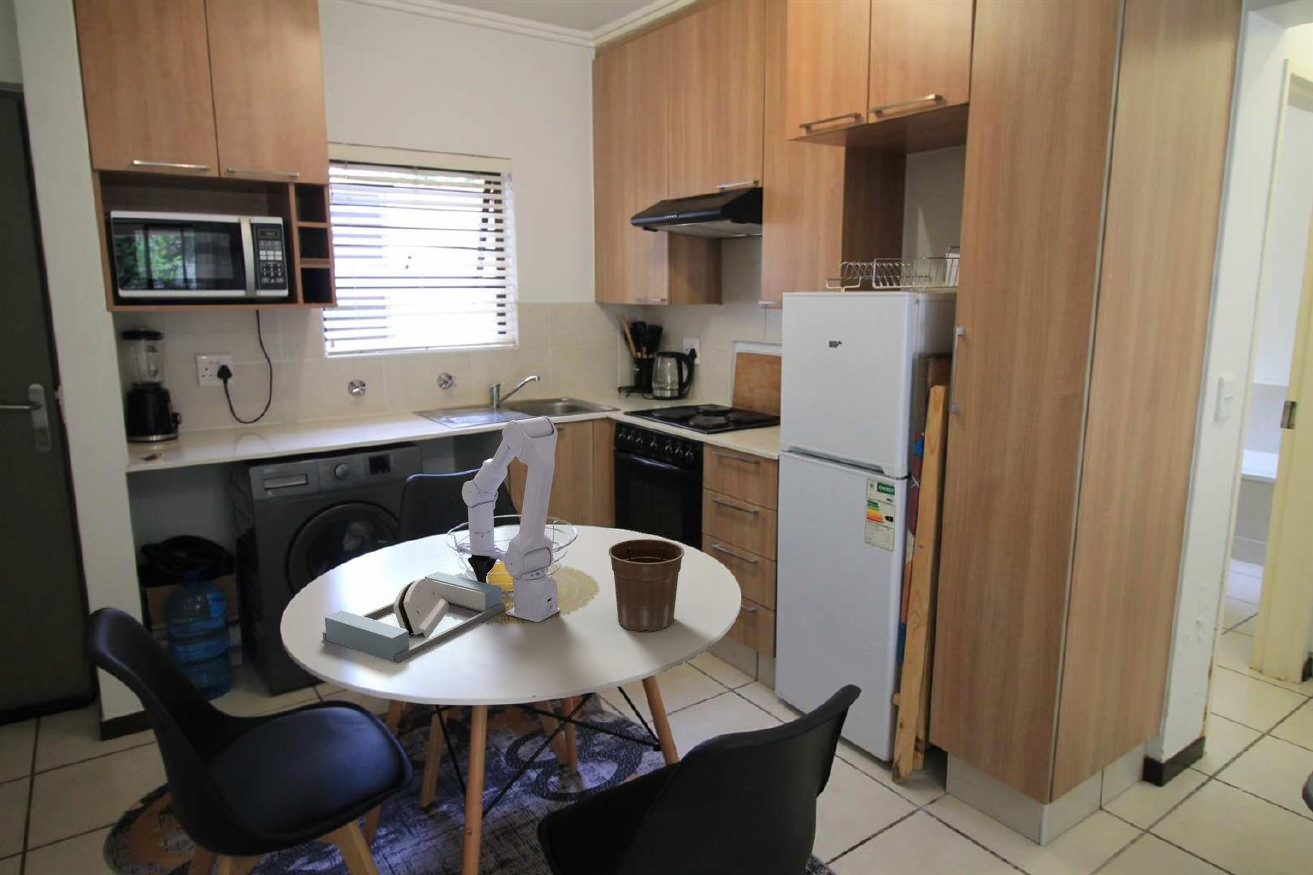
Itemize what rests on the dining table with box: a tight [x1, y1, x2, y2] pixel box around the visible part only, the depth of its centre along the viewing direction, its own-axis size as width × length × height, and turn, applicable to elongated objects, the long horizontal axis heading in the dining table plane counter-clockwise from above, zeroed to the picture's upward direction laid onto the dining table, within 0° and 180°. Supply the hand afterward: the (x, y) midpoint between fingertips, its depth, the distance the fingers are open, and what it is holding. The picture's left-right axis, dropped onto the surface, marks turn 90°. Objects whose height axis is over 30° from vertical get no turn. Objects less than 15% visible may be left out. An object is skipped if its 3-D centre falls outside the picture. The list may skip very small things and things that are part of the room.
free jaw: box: [424, 571, 503, 613], centre depth 181 cm, size 20×4×5 cm, turn 59°
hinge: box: [393, 577, 451, 639], centre depth 171 cm, size 17×5×10 cm, turn 178°
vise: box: [322, 601, 505, 664], centre depth 170 cm, size 22×30×5 cm
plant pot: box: [607, 538, 685, 632], centre depth 170 cm, size 16×16×16 cm
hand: (483, 585), depth 188 cm, fingers closed
